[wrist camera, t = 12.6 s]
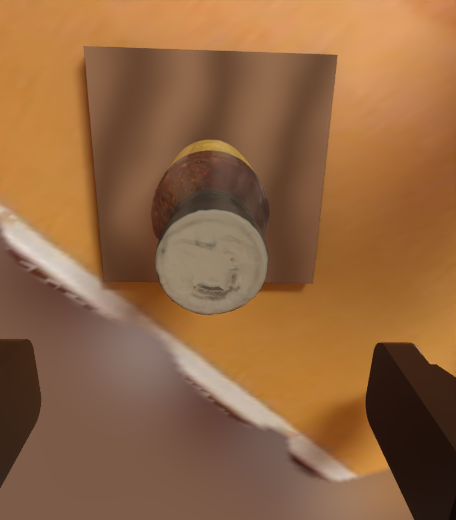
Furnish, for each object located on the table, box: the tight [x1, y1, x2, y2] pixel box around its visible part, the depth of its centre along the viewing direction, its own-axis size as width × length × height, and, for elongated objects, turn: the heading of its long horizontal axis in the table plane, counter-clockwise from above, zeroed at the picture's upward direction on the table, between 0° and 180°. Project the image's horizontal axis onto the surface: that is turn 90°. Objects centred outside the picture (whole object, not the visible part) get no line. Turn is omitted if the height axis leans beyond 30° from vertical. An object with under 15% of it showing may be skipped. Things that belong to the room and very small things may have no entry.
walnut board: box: [84, 46, 337, 284], centre depth 34 cm, size 18×18×2 cm
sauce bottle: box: [151, 140, 270, 315], centre depth 24 cm, size 7×6×20 cm
